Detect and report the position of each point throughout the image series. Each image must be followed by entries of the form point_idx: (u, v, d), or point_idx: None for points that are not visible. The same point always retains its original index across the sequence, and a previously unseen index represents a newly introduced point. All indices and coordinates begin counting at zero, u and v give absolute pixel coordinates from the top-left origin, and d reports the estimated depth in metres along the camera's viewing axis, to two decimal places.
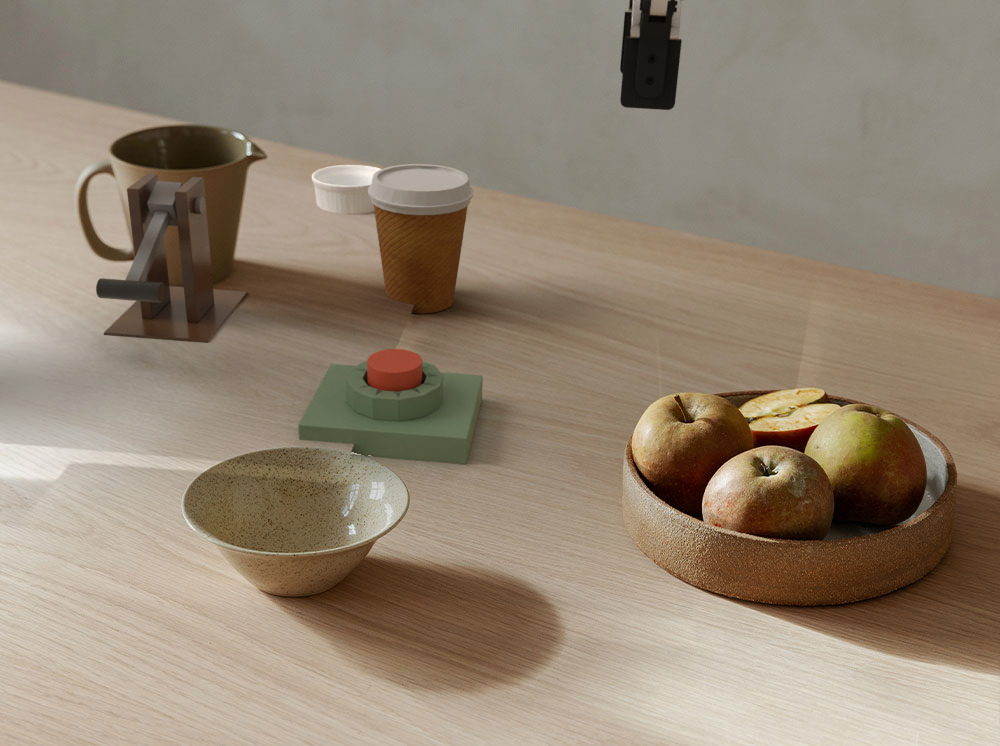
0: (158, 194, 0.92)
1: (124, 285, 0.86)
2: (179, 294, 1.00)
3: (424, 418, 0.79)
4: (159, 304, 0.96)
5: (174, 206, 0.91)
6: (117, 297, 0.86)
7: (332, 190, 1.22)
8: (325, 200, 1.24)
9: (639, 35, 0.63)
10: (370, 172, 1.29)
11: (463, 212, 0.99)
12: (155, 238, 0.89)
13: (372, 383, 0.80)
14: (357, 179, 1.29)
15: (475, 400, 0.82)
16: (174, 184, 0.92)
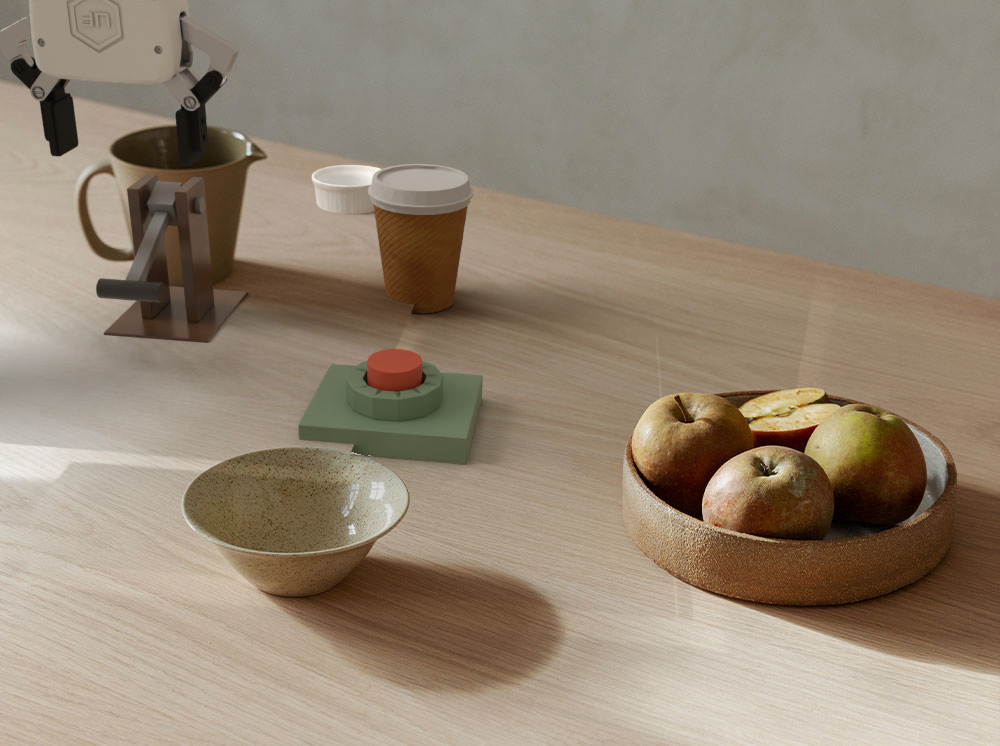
0: (158, 194, 0.92)
1: (124, 285, 0.86)
2: (179, 294, 1.00)
3: (424, 418, 0.79)
4: (159, 304, 0.96)
5: (174, 206, 0.91)
6: (117, 297, 0.86)
7: (332, 190, 1.22)
8: (325, 200, 1.24)
9: (199, 105, 0.78)
10: (370, 172, 1.29)
11: (463, 212, 0.99)
12: (155, 238, 0.89)
13: (372, 383, 0.80)
14: (357, 179, 1.29)
15: (475, 400, 0.82)
16: (174, 184, 0.92)
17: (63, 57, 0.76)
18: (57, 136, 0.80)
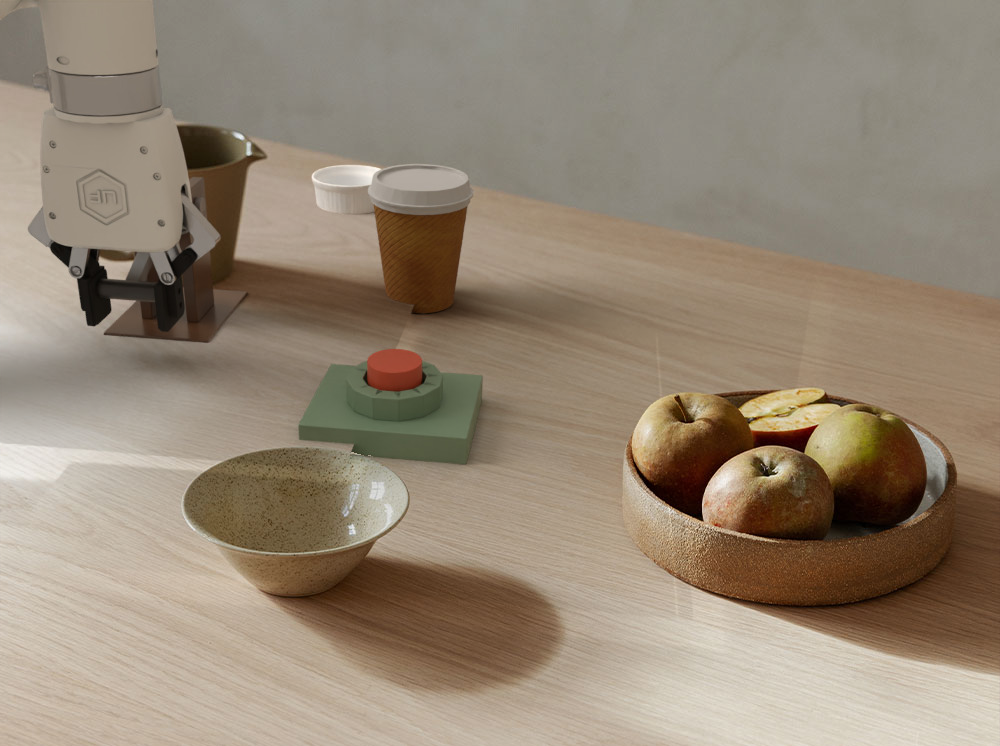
0: None
1: (124, 285, 0.86)
2: None
3: (424, 418, 0.79)
4: None
5: None
6: (117, 297, 0.86)
7: (332, 190, 1.22)
8: (325, 200, 1.24)
9: (176, 279, 0.85)
10: (370, 172, 1.29)
11: (463, 212, 0.99)
12: None
13: (372, 383, 0.80)
14: (357, 179, 1.29)
15: (475, 400, 0.82)
16: None
17: (73, 229, 0.82)
18: (93, 309, 0.86)
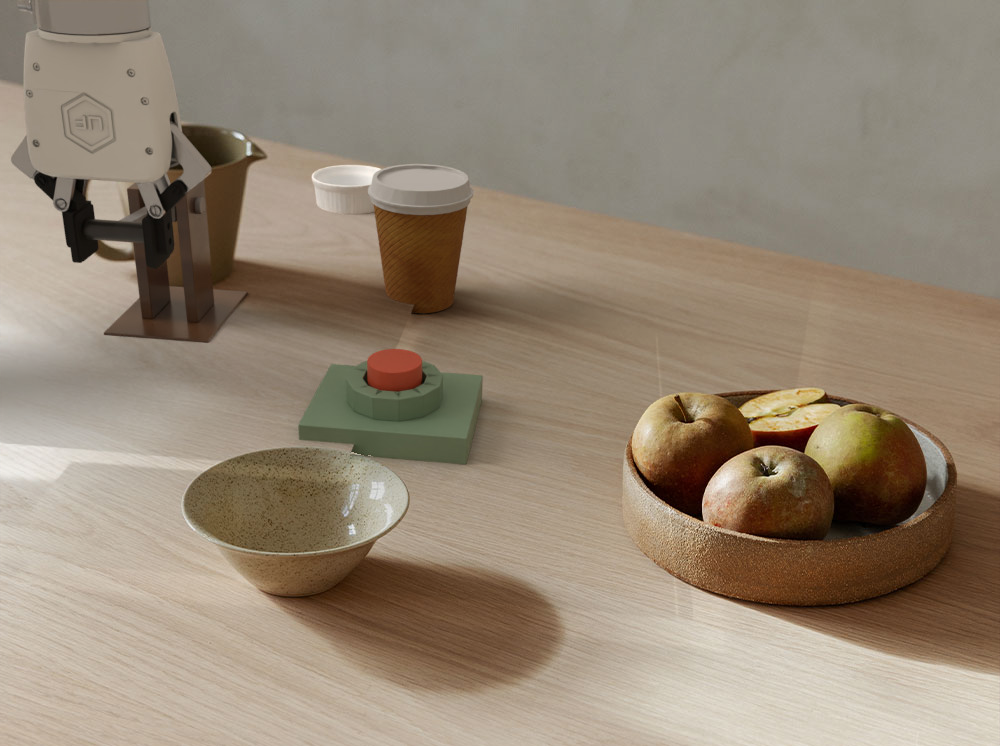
0: None
1: (113, 222, 0.83)
2: (179, 294, 1.00)
3: (424, 418, 0.79)
4: (159, 304, 0.96)
5: None
6: (103, 233, 0.83)
7: (332, 190, 1.22)
8: (325, 200, 1.24)
9: (165, 213, 0.81)
10: (370, 172, 1.29)
11: (463, 212, 0.99)
12: None
13: (372, 383, 0.80)
14: (357, 179, 1.29)
15: (475, 400, 0.82)
16: None
17: (57, 157, 0.78)
18: (78, 244, 0.83)
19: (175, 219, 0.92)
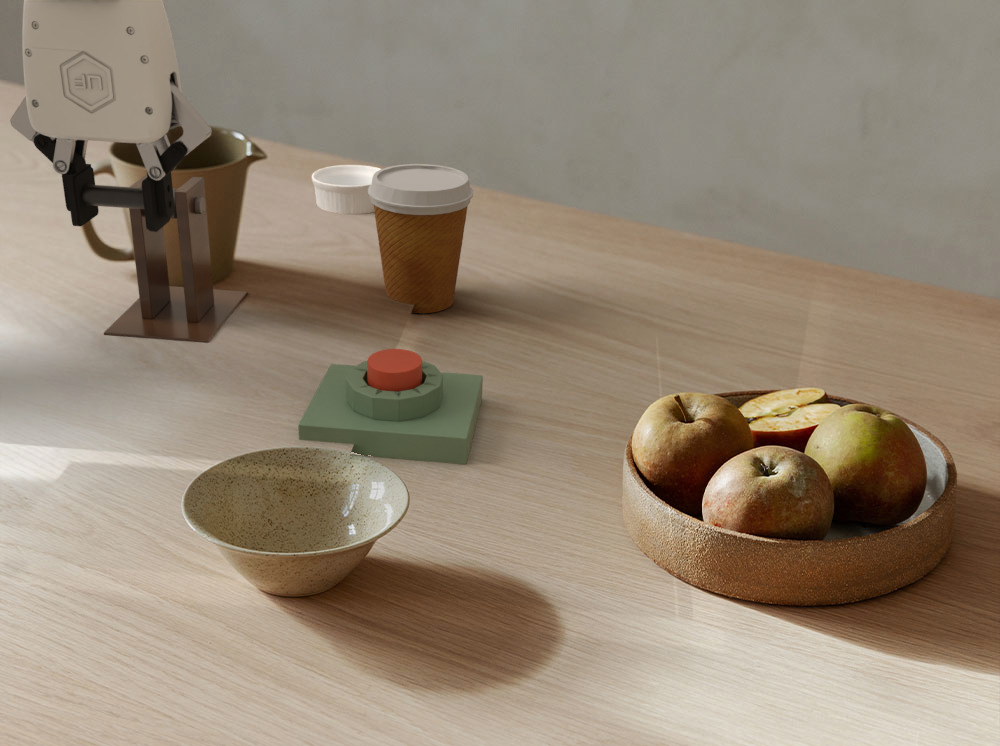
0: None
1: (113, 186, 0.83)
2: (179, 294, 1.00)
3: (424, 418, 0.79)
4: (159, 304, 0.96)
5: None
6: (102, 196, 0.82)
7: (332, 190, 1.22)
8: (325, 200, 1.24)
9: (164, 175, 0.81)
10: (370, 172, 1.29)
11: (463, 212, 0.99)
12: None
13: (372, 383, 0.80)
14: (357, 179, 1.29)
15: (475, 400, 0.82)
16: None
17: (56, 117, 0.78)
18: (78, 207, 0.82)
19: (174, 215, 0.91)
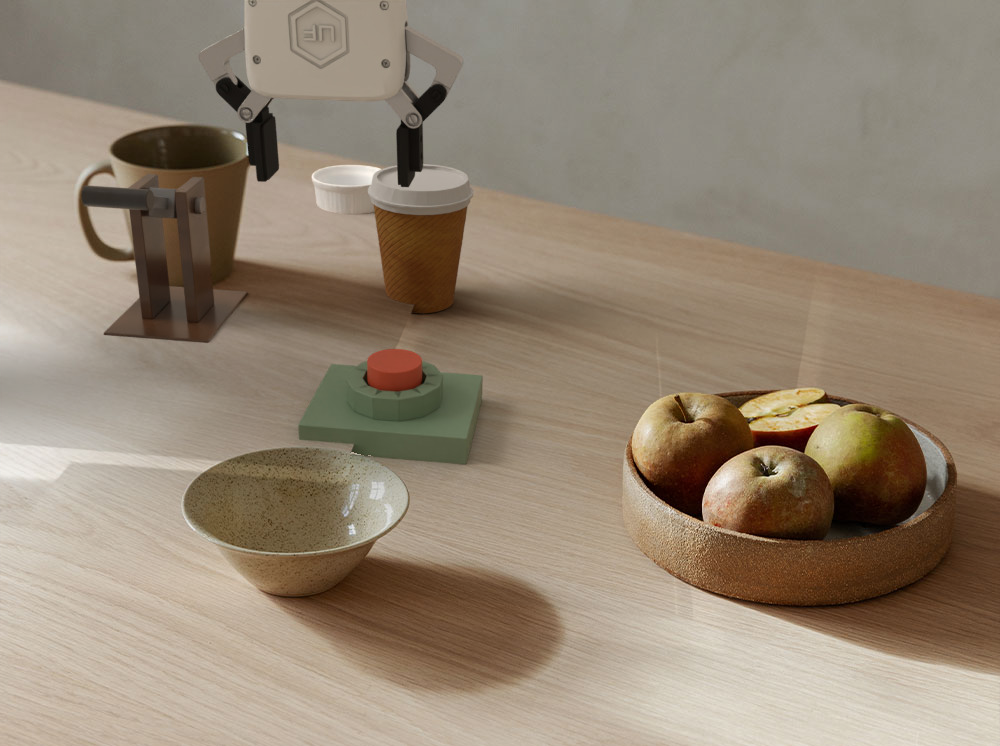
0: None
1: (113, 188, 0.83)
2: (179, 294, 1.00)
3: (424, 418, 0.79)
4: (159, 304, 0.96)
5: None
6: (102, 197, 0.82)
7: (332, 190, 1.22)
8: (325, 200, 1.24)
9: (421, 122, 0.72)
10: (370, 172, 1.29)
11: (463, 212, 0.99)
12: None
13: (372, 383, 0.80)
14: (357, 179, 1.29)
15: (475, 400, 0.82)
16: None
17: (280, 75, 0.70)
18: (264, 160, 0.74)
19: (174, 215, 0.91)
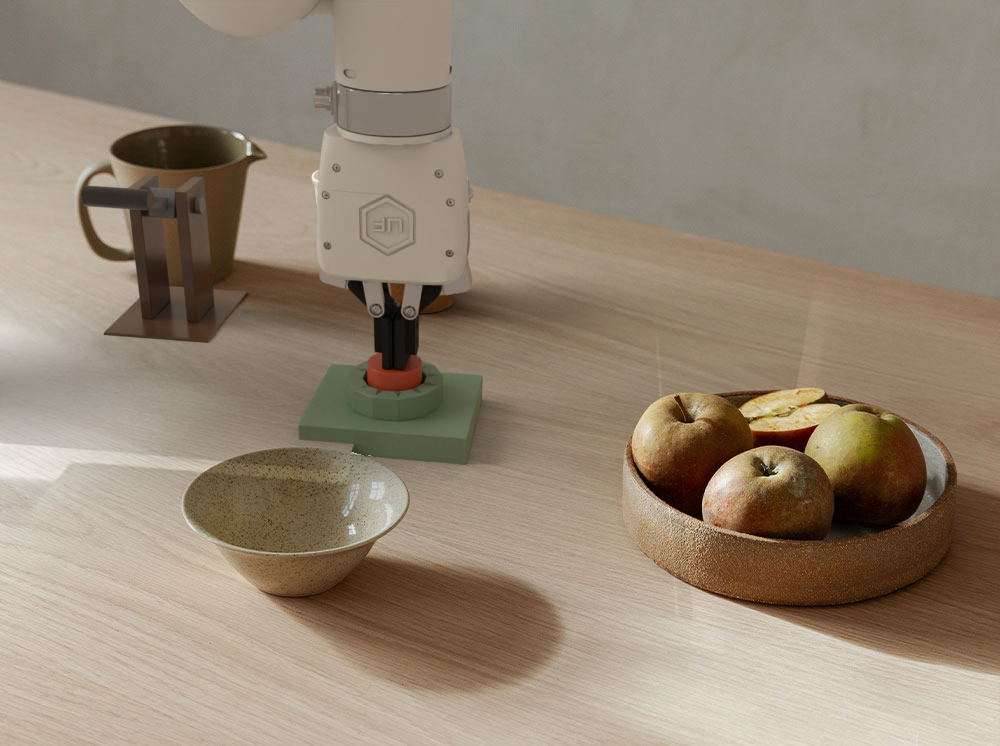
0: None
1: (113, 188, 0.83)
2: (179, 294, 1.00)
3: (424, 418, 0.79)
4: (159, 304, 0.96)
5: None
6: (102, 197, 0.82)
7: None
8: None
9: (417, 313, 0.78)
10: None
11: None
12: None
13: (372, 385, 0.80)
14: None
15: (475, 400, 0.82)
16: None
17: (349, 260, 0.74)
18: (390, 350, 0.78)
19: (174, 215, 0.91)
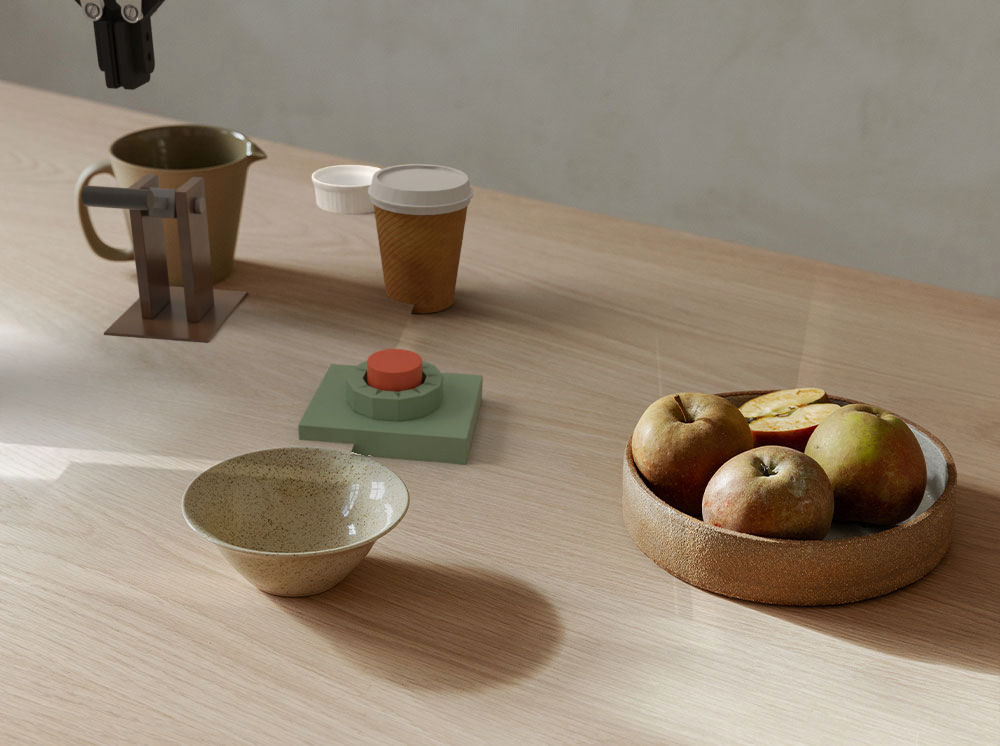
0: None
1: (113, 188, 0.83)
2: (179, 294, 1.00)
3: (424, 418, 0.79)
4: (159, 304, 0.96)
5: None
6: (102, 197, 0.82)
7: (332, 190, 1.22)
8: (325, 200, 1.24)
9: (142, 17, 0.66)
10: (370, 172, 1.29)
11: (463, 212, 0.99)
12: None
13: (372, 383, 0.80)
14: (357, 179, 1.29)
15: (475, 400, 0.82)
16: None
17: None
18: (114, 64, 0.67)
19: (174, 215, 0.91)
